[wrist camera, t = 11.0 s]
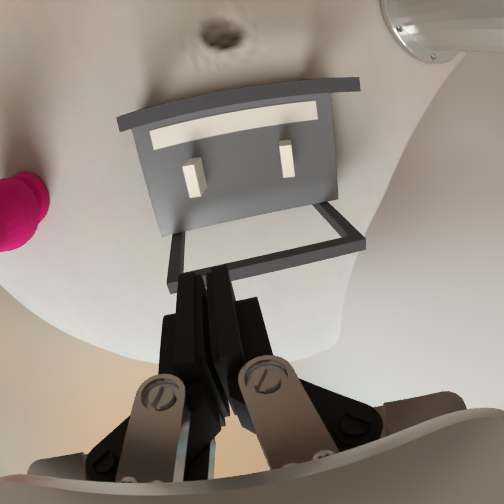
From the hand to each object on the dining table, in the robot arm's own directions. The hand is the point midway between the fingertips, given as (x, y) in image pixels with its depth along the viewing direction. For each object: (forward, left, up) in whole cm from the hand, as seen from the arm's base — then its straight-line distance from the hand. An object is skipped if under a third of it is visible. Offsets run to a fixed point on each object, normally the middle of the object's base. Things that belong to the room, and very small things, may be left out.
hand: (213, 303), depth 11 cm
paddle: (0, 0, -19) cm, 19 cm away
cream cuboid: (-7, +4, -19) cm, 20 cm away
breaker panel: (-3, +2, -22) cm, 22 cm away
